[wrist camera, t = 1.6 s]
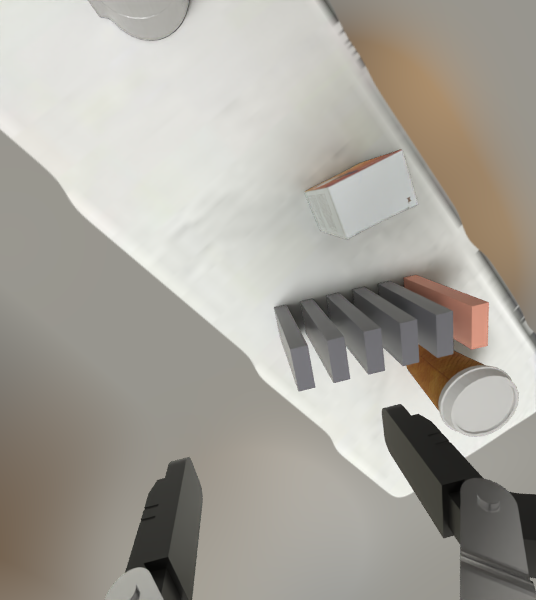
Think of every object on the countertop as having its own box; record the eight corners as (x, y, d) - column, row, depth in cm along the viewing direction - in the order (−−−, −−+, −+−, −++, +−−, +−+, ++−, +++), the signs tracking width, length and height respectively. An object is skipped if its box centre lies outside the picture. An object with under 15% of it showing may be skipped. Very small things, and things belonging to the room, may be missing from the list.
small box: (360, 162, 38) (405, 146, 28) (374, 204, 39) (421, 204, 29) (302, 191, 38) (326, 185, 28) (318, 232, 40) (347, 240, 30)
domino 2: (306, 333, 44) (333, 383, 32) (300, 301, 42) (326, 340, 30) (317, 330, 44) (350, 379, 32) (312, 298, 42) (344, 336, 30)
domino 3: (331, 327, 44) (368, 374, 32) (326, 295, 42) (363, 332, 30) (343, 324, 44) (385, 370, 32) (338, 292, 42) (380, 327, 30)
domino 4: (356, 321, 44) (402, 366, 32) (352, 289, 43) (399, 323, 30) (367, 318, 44) (419, 362, 32) (364, 286, 43) (417, 319, 30)
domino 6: (405, 309, 44) (471, 349, 32) (403, 277, 43) (472, 306, 30) (417, 307, 44) (487, 345, 32) (415, 274, 43) (488, 302, 31)
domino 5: (381, 315, 44) (437, 357, 32) (378, 283, 43) (436, 315, 30) (392, 312, 44) (453, 354, 32) (390, 280, 43) (453, 311, 30)
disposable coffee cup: (460, 368, 49) (529, 418, 37) (406, 394, 49) (458, 451, 38) (444, 320, 46) (514, 358, 34) (387, 348, 46) (437, 395, 35)
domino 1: (280, 339, 44) (298, 391, 31) (273, 307, 42) (290, 349, 30) (292, 336, 44) (315, 387, 31) (286, 304, 42) (307, 345, 30)
